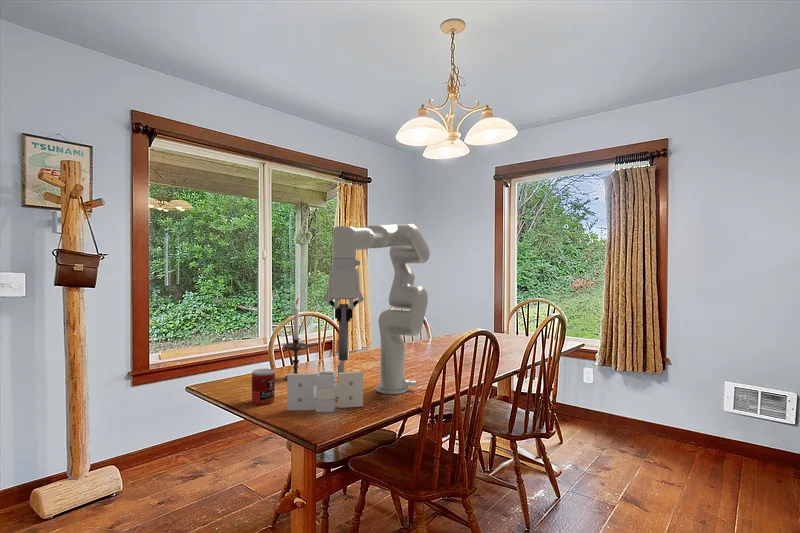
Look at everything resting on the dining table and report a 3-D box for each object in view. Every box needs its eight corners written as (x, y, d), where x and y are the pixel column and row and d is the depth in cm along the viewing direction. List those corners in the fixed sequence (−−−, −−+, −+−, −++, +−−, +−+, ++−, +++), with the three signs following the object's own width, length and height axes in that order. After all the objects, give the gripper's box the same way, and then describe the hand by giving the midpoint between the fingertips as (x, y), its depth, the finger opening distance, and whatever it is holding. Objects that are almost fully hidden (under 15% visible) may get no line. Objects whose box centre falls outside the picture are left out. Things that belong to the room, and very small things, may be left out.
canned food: (262, 407, 145) (262, 374, 145) (246, 402, 149) (247, 371, 149) (279, 401, 152) (279, 370, 152) (264, 397, 156) (264, 367, 156)
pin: (347, 358, 139) (348, 303, 139) (347, 360, 136) (348, 304, 136) (338, 358, 139) (339, 303, 139) (338, 360, 136) (339, 304, 136)
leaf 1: (334, 406, 147) (335, 371, 147) (333, 411, 141) (334, 375, 141) (288, 407, 145) (289, 372, 146) (285, 412, 140) (286, 376, 140)
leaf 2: (361, 403, 150) (361, 370, 150) (363, 408, 144) (364, 374, 144) (316, 406, 146) (316, 372, 146) (317, 411, 140) (317, 376, 140)
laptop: (313, 387, 170) (313, 355, 171) (344, 387, 171) (344, 355, 171) (303, 401, 152) (304, 365, 153) (338, 402, 153) (339, 365, 153)
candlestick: (313, 377, 184) (315, 297, 184) (295, 383, 175) (296, 298, 175) (295, 374, 190) (297, 296, 190) (277, 379, 180) (278, 297, 180)
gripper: (368, 264, 142) (368, 319, 142) (319, 264, 140) (318, 319, 140) (370, 264, 135) (369, 322, 135) (317, 264, 133) (317, 322, 133)
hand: (343, 320), depth 138 cm, fingers closed on pin, 3 cm apart
